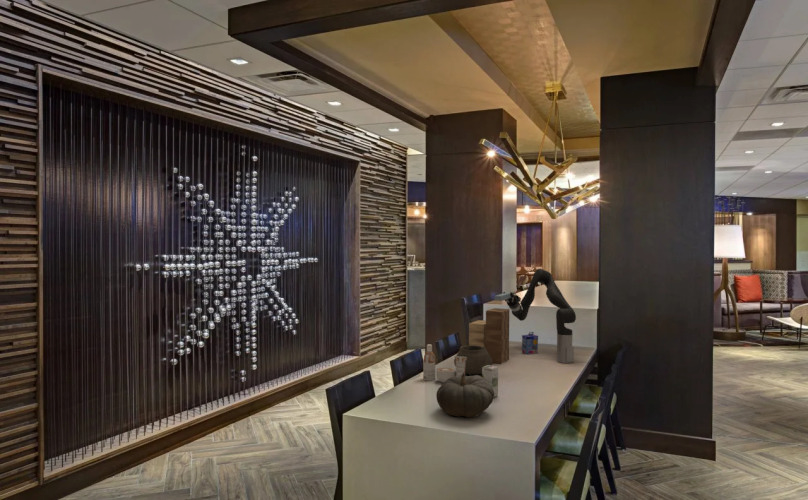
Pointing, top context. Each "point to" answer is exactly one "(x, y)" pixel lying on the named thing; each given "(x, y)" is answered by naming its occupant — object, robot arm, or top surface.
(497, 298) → the batten
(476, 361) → the clay pot
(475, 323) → the oak stand
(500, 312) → the walnut stand
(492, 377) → the white carton
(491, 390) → the gourd
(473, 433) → the top surface
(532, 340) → the ink cartridge box
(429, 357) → the cosmetic set
